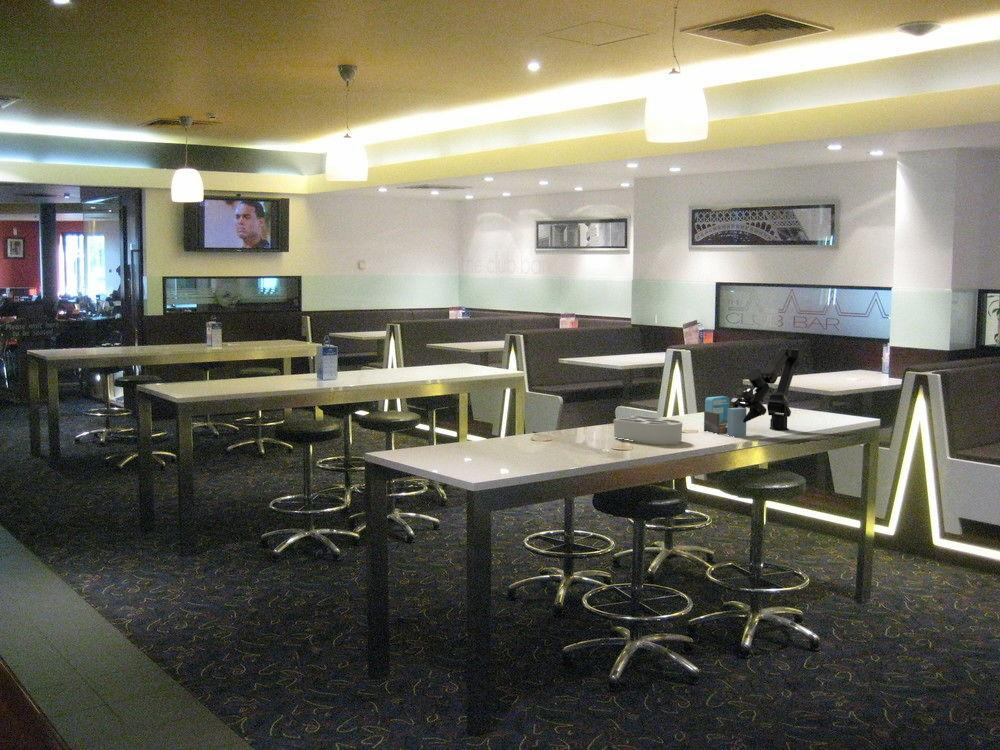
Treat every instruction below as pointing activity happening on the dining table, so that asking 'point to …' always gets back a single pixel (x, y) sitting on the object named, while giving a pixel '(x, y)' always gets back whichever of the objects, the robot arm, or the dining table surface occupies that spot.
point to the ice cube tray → (648, 430)
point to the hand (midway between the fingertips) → (737, 420)
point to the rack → (713, 423)
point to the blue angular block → (736, 422)
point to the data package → (718, 406)
